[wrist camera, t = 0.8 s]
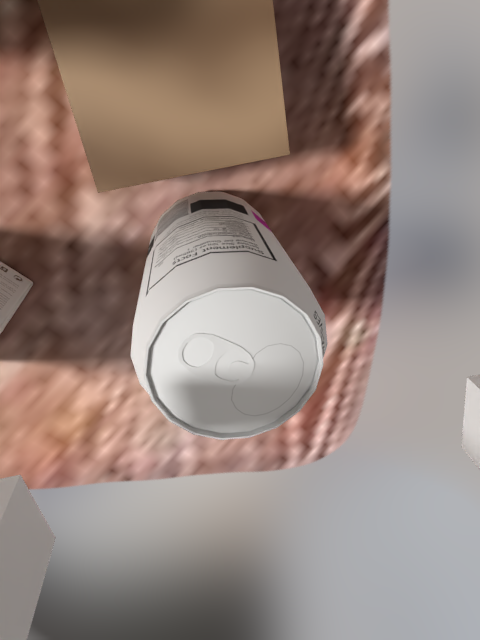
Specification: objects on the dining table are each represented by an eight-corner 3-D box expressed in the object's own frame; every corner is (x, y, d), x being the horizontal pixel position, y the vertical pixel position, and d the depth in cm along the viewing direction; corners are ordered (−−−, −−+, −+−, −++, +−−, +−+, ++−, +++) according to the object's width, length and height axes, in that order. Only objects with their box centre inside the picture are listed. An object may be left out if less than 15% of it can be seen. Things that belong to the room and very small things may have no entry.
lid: (-17, -184, 17) (-67, -255, 13) (242, -229, 17) (258, -310, 14) (100, 189, 23) (87, 205, 20) (286, 152, 23) (304, 162, 20)
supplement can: (291, 225, 30) (379, 327, 17) (232, 321, 33) (267, 473, 20) (185, 164, 28) (190, 228, 14) (130, 274, 30) (92, 412, 17)
